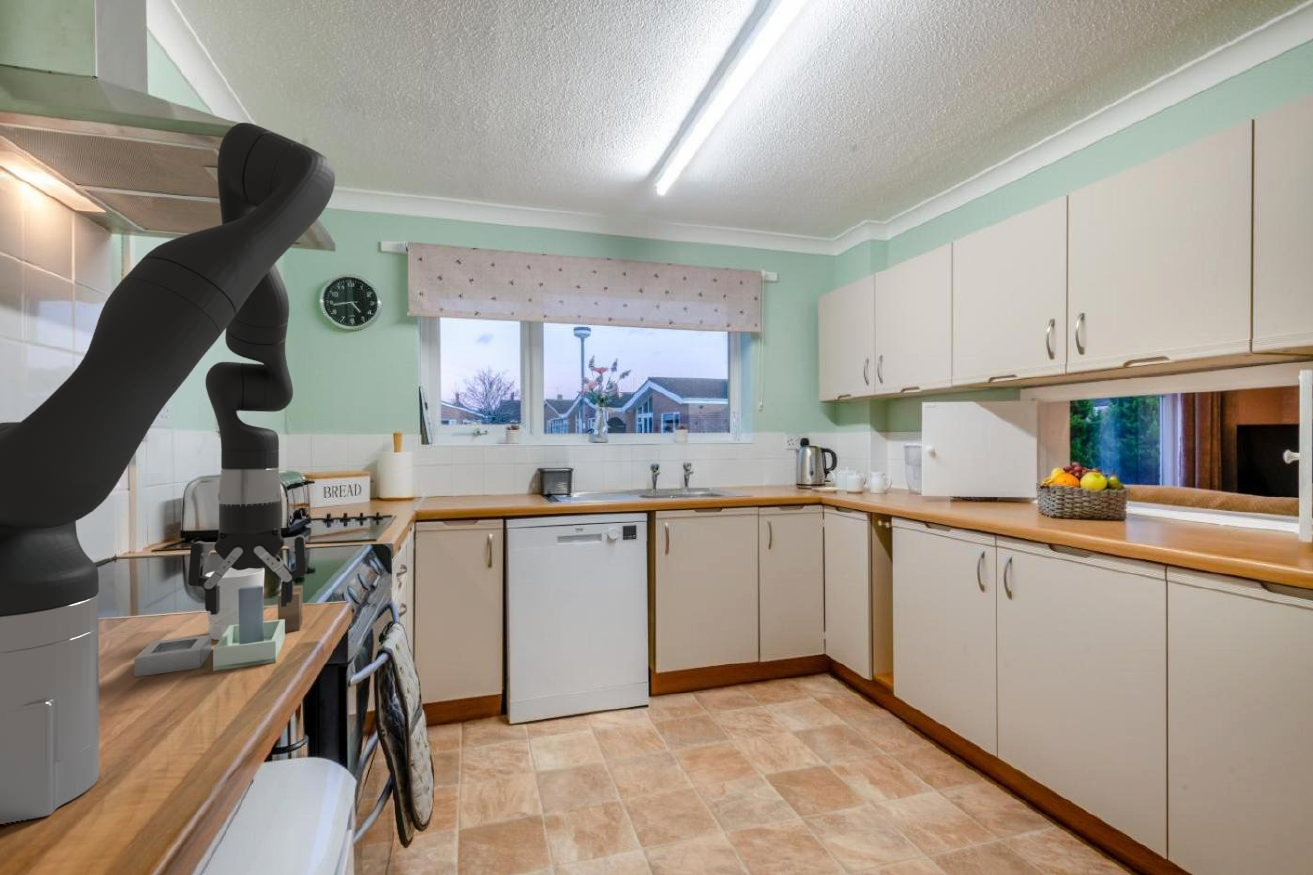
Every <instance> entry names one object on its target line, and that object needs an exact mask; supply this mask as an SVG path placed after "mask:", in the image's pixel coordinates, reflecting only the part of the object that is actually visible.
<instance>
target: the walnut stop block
mask: <svg viewBox="0 0 1313 875" xmlns="http://www.w3.org/2000/svg"><path fill="white" fill-rule="evenodd" d="M303 589H304V588H303V585H293V598H292V601H291V602H290V603H288V605H287V607H281V590H280V591H279V593H278V595H277V620H282V619H285V633H288V632H294V631H301V630H300V629H301V627H302V624H303V621H304V612H303V611H304V610H303V608H304V606H303V605H304V604H303V602H304V601H303V600H304V598H303V597H304V596H303V591H304V590H303ZM302 620H303V621H302Z"/></svg>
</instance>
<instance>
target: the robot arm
mask: <svg viewBox="0 0 1313 875" xmlns="http://www.w3.org/2000/svg"><path fill="white" fill-rule="evenodd" d="M216 173H217V174H216V175H217V187H218V188H217V189H218V198H219V205H220V206H219V207H220V208H219V209H220V215H221V224H220V225H217V226H214V227H213V226H212V227H210V228H205V229H202V230H198V231H194V232H191V233H188V234H184V235H182V236H178V237H175V238H174V239H171V240H168V241H165V242H164V243H161V244H158V245H157V246H156V247H154V248H153V249H151V250H150V251H149V252H147V254H146V255H144V256H143V258H142V259H141V260H140V261H139V262H138V263H137V264H136V265H134V267H133V268H132V269H131V270H130V272H128V273H127V275H125V276H124V278H123V279H122V280H121V281H120V282H119V283H118V285H117V286H116V287H115V289H113V291H112V292H111V293H110V295H109V297H108V298H107V299H106V301H105V303H104V306H103V307H102V309H101V312H100V314H99V317H98V320H97V323H96V325H95V329H94V331H93V334H92V337H91V341H90V343H89V347H88V349H87V351H86V353H85V355H84V357H83V358H82V359H81V361H80V363H79V364H78V366H77V368H76V369H75V370H74V371H73V372H72V373H71V374H70V375H69V376H68V378H66V379H65V381H64V382H62V384H61V385H60V386H59V387H58V388H57V389H56V390H55V391H54V392H53V393H51V395H50V396H49V397H48V398H47V399H46V400H45V401H44V402H42V403H41V404H40V405H39V407H37V408H36V409H35V410H34V411H32V412H31V413H30V414H29V415H27V417H25V418H24V419H23V420H21V421H15V422H14V421H12V422H11V421H10V422H7V421H6V422H0V822H2V823H5V822H6V823H7V822H9V824H11V823H10V822H14V821H15V822H14V823H17V822H16V821H18V820H20V821H19V822H22V821H21V820H23V821H28V820H32V819H38V818H42V817H47V816H50V815H51V814H52V815H53V813H54V812H55V811H56V810H57V809H58V808H59V807H61V806H62V805H64V804H66V803H68V802H70V801H72V800H74V799H76V798H77V797H79V796H80V795H82V794H84V793H85V792H87V791H88V790H89V789H90V788H92V787H93V786H94V785H95V783H96V782H97V781H98V780H99V776H100V725H99V724H100V722H99V721H100V717H99V716H100V714H99V711H100V709H99V708H100V707H99V706H100V705H99V704H100V703H99V700H100V698H99V696H100V694H99V693H100V692H99V689H100V688H99V685H100V684H99V675H100V674H99V584H100V583H99V569H98V566H97V564H96V563H95V562H94V561H93V560H92V559H91V558H90V557H89V556H88V555H87V553H86V552H85V551H84V549H83V547H82V546H81V543H80V541H79V538H78V533H77V522H76V521H78V520H81V519H83V518H85V517H86V516H87V515H89V514H91V513H92V512H94V511H95V510H96V509H97V508H99V507H100V505H102V504H103V502H104V501H105V500H107V498H108V497H109V496H110V494H111V493H112V492H113V490H114V488H115V487H116V486H117V484H118V483H119V481H120V479H121V478H122V476H123V474H124V472H125V471H126V469H127V468H128V466H129V464H130V462H131V460H132V458H133V457H134V456H135V453H136V451H137V450H138V449H139V447H140V445H141V444H142V441H143V440H144V438H145V436H146V435H147V433H148V431H149V430H150V429H151V427H152V425H153V423H154V422H155V420H156V418H157V417H158V415H159V414H160V412H161V411H162V409H163V408H164V407H165V405H166V404H167V403H168V402H169V401H170V399H171V398H172V396H173V395H174V394H176V392H177V390H178V389H179V388H180V386H181V385H182V384H183V383H184V382H185V380H186V379H187V378H188V376H190V374H191V373H192V371H193V370H194V369H195V367H197V365H198V363H199V362H200V361H201V359H203V357H204V356H205V355H206V353H207V352H209V350H210V349H211V347H213V346H214V344H215V343H216V341H217V340H219V337H220V336H221V335H222V334H223V333H224V331H225V344H226V347H227V348H228V349H229V351H231V353H233V354H235V355H236V356H239V357H242V358H245V359H247V360H251V361H254V362H255V361H256V362H258V363H249V362H248V363H247V362H238V361H237V362H235V361H220V362H216V363H215V364H213V365H212V366H211V367H210V368H209V369H208V372H207V374H206V376H205V380H204V381H205V389H206V392H207V393H206V394H207V396H208V398H209V401H210V404H211V407H212V409H213V412H214V415H215V418H216V421H217V426H218V429H219V436H220V449H221V451H220V452H221V454H220V456H221V458H220V459H221V460H220V461H221V462H220V464H221V465H220V466H221V468H220V469H221V470H220V478H219V484H218V493H217V500H218V539H217V540H216V542H215V541H213V542H211V541H210V542H206V541H203V540H198V541H196V542H194V543H193V544H191V546H190V551H189V552H190V554H189V566H188V569H189V570H188V580H187V582H188V583H187V584H188V585H189V586H190V587H200V588H202V589H203V590H204V593H205V594H204V608H205V610H206V612H207V611H211V615H216V614H218V613H219V610H220V586H218V581H219V580H220V579H221V578H222V577H223V576H224V574H225V573H226V572H227V571H228V570H229V569H230V568H233V569H237V570H244V569H248V568H253V569H261V568H264V567H268V568H270V570H272V572H274V573H276V574H277V576H278V577H279V578H280V579H281V580H282V581H281V583H280V591H281V607H287V605H288V603H290V602H291V601H292V598H293V586H294V580H296V579H298V578H300V577H304V576H305V575H306V573H307V571H308V563H307V561H308V560H307V548H306V537H305V535H304V534H298V535H296V536H290V537H284V536H283V535H282V528H281V527H282V524H281V523H282V522H281V521H282V519H281V518H282V516H281V515H282V512H281V511H282V504H281V502H282V499H281V498H282V497H281V496H282V495H281V494H282V493H281V492H282V487H281V486H282V484H281V477H280V476H281V475H280V469H279V466H280V461H279V460H280V459H279V458H280V454H279V453H280V451H279V449H280V441H279V439H280V438H279V435H278V433H277V432H276V431H275V430H273V429H271V428H266V427H260V426H255V425H250V424H247V423H246V422H244V421H242V419H241V418H240V417H239V415H238V412H269V413H272V412H273V413H274V412H275V413H276V412H281V411H283V410H285V408H287V407H288V406H289V405H290V403H291V402H292V400H293V396H294V388H293V382H292V379H291V375H290V371H289V367H288V362H287V356H286V354H287V353H286V342H287V340H286V339H287V334H288V333H287V332H288V325H289V316H290V301H289V296H288V292H287V289H286V286H285V283H284V280H283V279H282V278H283V277H282V276H281V274H280V272H279V270H278V268H277V266H276V263H277V261H278V260H280V258H281V257H282V256H283V255H284V254H285V253H286V252H287V251H288V250H289V249H290V248H291V247H292V246H293V245H294V244H295V243H296V241H298V240H299V239H300V237H301V236H302V235H304V233H305V232H306V231H308V230H309V229H310V227H311V226H312V225H313V224H315V222H316V221H317V220H318V219H319V217H320V216H321V215H322V214H323V212H324V211H325V208H326V207H327V206H328V204H329V202H330V199H331V197H332V195H333V192H334V189H335V183H336V182H335V181H336V174H335V170H334V166H333V165H332V163H331V161H330V160H329V159H328V158H327V156H325V155H324V154H321V152H318V151H317V150H315V149H313V148H311V147H309V146H307V145H305V144H303V143H300V142H298V141H296V140H293V139H291V138H288V137H286V136H284V135H281V134H280V133H276V132H274V131H272V130H269V129H266V128H264V127H262V126H259V125H257V124H254V123H250V122H240V123H237V124H235V125H233V126H232V127H230V129H228V131H227V132H225V135H224V137H223V138H222V140H221V143H220V146H219V150H218V156H217V172H216ZM284 546H287V547H288V549H289V551H290V552H294V555H295V568H293V569H290V568H289V566H287V564H286V563H285V561H284V560H283V559H282V558H281V557H280V556H279V555H278V553H279V552H280V551H281V550H282V548H283V547H284ZM212 551H215V552H216V553H217V555H218V556H220V557H221V559H223V561H222V562H221V563H220V564H219V566H218V567H217V568H216V569H215V570H214V571H215V572H214V573H213V574H212V575H211V576H210V577H207V576H205V575H204V566H205V558H208V557H209V556H210V555H211V552H212ZM27 819H28V820H27Z"/></svg>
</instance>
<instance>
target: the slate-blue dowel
mask: <svg viewBox="0 0 1313 875" xmlns="http://www.w3.org/2000/svg"><path fill="white" fill-rule="evenodd" d="M238 594H239V644H247V643H255V642H263V641H264V621H265V620H264V594H263V586H260V585H255V586H247V587H243V588H240V589H239V590H238Z"/></svg>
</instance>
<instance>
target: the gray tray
mask: <svg viewBox="0 0 1313 875" xmlns="http://www.w3.org/2000/svg"><path fill="white" fill-rule="evenodd" d="M211 653H212V638H211V635H209V634H206V635H198V636H197V635H196V636H189V637H180V638H172V639H166V640H165V639H164V640H155V641H151V642H149V643H148V645H146V646H145V648H143V650H141V652H139V653H138V655H137V656H136V657H134V677H135V678H137V677H145V676H153V675H158V674H159V675H161V674H166V673H174V672H181V671H188V670H195V669H200V668H201V667H202V666H203V664H204V663H205V662H206V660H207V658H208V657H209V656H210V654H211Z"/></svg>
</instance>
